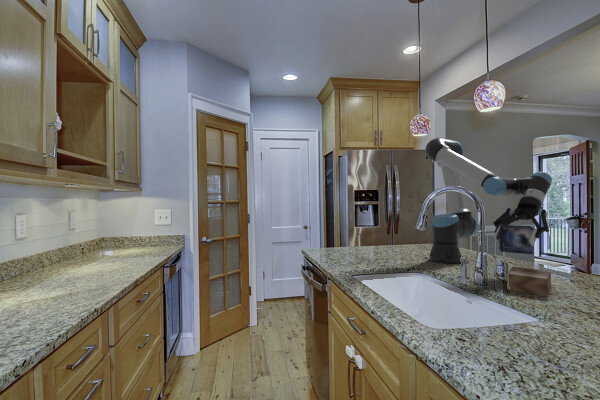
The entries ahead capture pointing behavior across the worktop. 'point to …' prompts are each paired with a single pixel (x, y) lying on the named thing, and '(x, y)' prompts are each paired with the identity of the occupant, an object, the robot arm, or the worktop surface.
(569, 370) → the worktop surface
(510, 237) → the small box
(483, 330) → the worktop surface
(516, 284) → the walnut plinth
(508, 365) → the worktop surface
